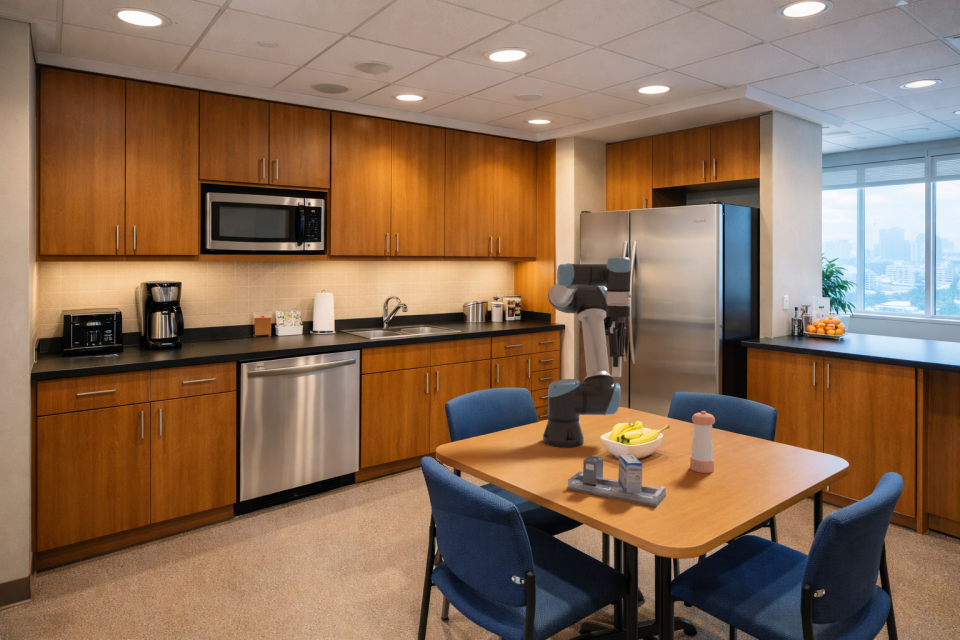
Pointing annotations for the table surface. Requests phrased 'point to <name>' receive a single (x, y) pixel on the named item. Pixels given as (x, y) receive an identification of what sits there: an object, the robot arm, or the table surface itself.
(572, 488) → the rail
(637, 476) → the medicine box
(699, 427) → the pepper shaker
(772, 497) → the table surface
